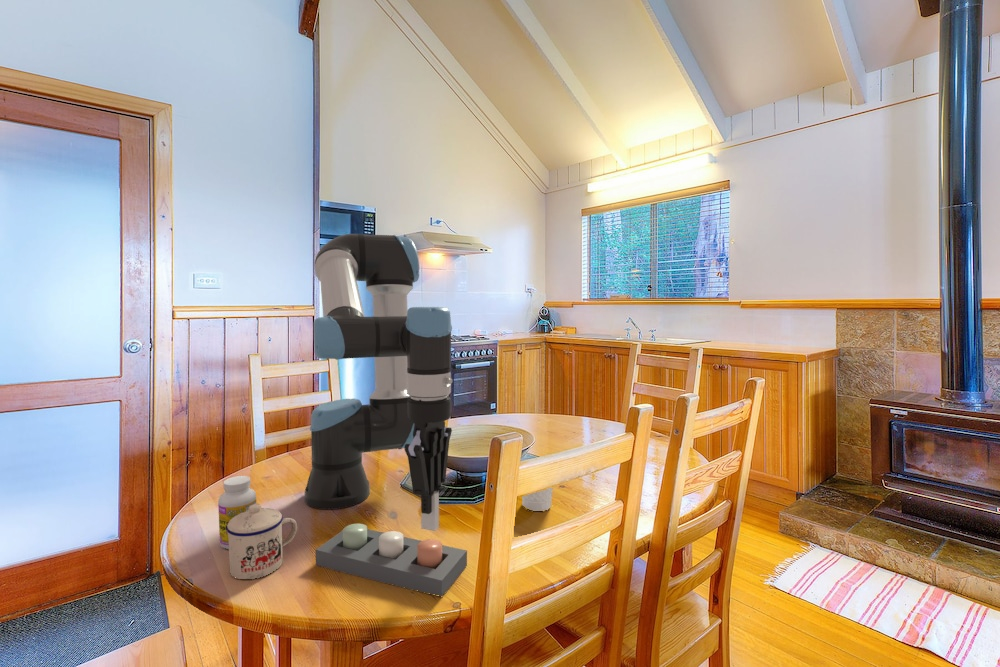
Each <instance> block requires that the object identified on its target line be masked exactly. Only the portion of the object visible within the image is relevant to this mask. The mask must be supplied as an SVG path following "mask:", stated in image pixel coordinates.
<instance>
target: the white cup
mask: <svg viewBox="0 0 1000 667" xmlns="http://www.w3.org/2000/svg"><path fill="white" fill-rule="evenodd" d="M553 489H554V487H553V488H548V489H546V490H543V491H540V492H536V493H532V494H529V495H525V496H521V497H522V498H521V499H522V507H523V506H524V507H526V508H528V509H530V510H533V511H543V510H547V511H548V509H549V508H550V507H551V508H552V497H553V492H554V491H553ZM524 507H523V508H524ZM551 508H550V509H551ZM550 509H549V510H550ZM533 511H532V512H533ZM543 512H544V511H543Z"/></svg>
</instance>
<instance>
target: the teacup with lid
mask: <svg viewBox="0 0 1000 667" xmlns="http://www.w3.org/2000/svg"><path fill="white" fill-rule="evenodd" d="M288 523H291V531H290V533H289V535H288V536H287V537H286V538H285V539H283V527H282V526H283V525H285V524H288ZM297 531H298V524H297V521H296V520H295V519H294V518H292V517H283V514H282V512H280V510H277V509H274V508H269V507H268V508H265V507H262V505H261V504H260V503H256V504H253V505H251V506H250V507H249V510H247V511H245V512H243V513H240V514H238V515H236V516H235V517H233V518H232V519H231V520H230V521H229V523H228V525H227V532H228V537H229V549H228V557H229V559H228V560H229V573H231V574H230V576H232V577H233V576H234V577H236V578H239V579H238V580H240V579H252V580H256V579H255V578H257V579H260V577H261V578H264V577H267V576H269V575H270V573H271V574H273V573H274V572H276V571H277V570H278V569H279V568H280V567H281V565H282V564H283V559H284V558H283V547H284V546H286V545H287V544H289V543H290V542H292V540H293V539H294V538H295V536H296V534H297ZM276 569H277V570H276ZM273 571H274V572H273ZM268 574H269V575H268ZM266 575H267V576H266ZM263 576H264V577H263ZM234 577H233V578H234ZM236 578H235V579H236Z"/></svg>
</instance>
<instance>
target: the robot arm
mask: <svg viewBox="0 0 1000 667" xmlns="http://www.w3.org/2000/svg"><path fill="white" fill-rule="evenodd" d="M314 274H315V275H316V278H317V279H318V281H319V282H320V293H321V304H322V316H321V317H318V318H315V319H314V321H313V347H314V348H313V349H314V350H313V352H314V356H315V357H316V358H318V359H321V360H322V359H323V360H329V359H330V360H336V361H338V360H345V359H346V360H348V359H361V358H374V382H375V387H374V388H375V389H374V391H373V392H372V393H371V394H370V395H369V403H368V404H363V403H362V402H361V400H360V399H358V398H341V399H336V400H332V401H328V402H325V403H322V404H320V405H318V406H316V408H314V409H313V410H312V412H311V415H310V426H309V430H310V433H311V434H310V436H311V437H310V439H311V446H310V448H311V470H310V473H309V476H308V480H307V483H306V486H305V489H304V503H305V504H306V505H307V506H309V507H311V508H314V509H319V510H337V509H343V508H349V507H353V506H355V505H357V504H360V503H362V502H363V501H365V500H366V499H367V498H368V497H369V495H370V494H371V493H370V491H371V489H370V486H371V485H370V482H369V480H368V477H367V475H366V471H365V468H364V465H363V455H362V454H363V453H373V452H379V451H388V450H402V449H404V452H405V454H406V457H407V460H408V467H409V473H410V474H409V475H410V479H411V481H410V482H411V487H412V492H413V495H418V496H420V508H421V509H420V517H421V519H420V526H421V529H423V530H425V531H427V530H428V531H432V532H436V531H437V530H438V529H439V527H440V500H439V499H440V494H439V493H440V492H439V491H441V492H444V490H445V488H446V486H445V485H442V484H445V483H446V476H447V466H448V456H449V448H450V438H451V436H452V432H453V430H452V427H448V426H447V427H446V422H445V421H448V420H450V419H451V417H452V398H451V397H450V394H451V393H452V383H453V378H452V373H451V372H452V332H453V331H452V330H453V325H452V320H451V319H452V318H451V311H450V310H449V308H447V307H444V306H412V307H409V308H408V294H409V293H410V292H411V291H412V290H413V288H414V283H417V282H418V281H419V278H420V260H419V256H418V249H417V247H416V245H415V243H414V241H413V240H412V239H411V238H410V237H407V236H400V235H395V234H393V235H389V234H366V233H365V234H362V233H347V234H346V233H345V234H342V235H338V236H336V237H334V238H333V239H331V240H329V241H328V242H327V243H325V244H324V245H323V246H322V247H321V248H320V249H319V251H318V252H317V254H316V256H315V260H314ZM358 282H365V285H366V286H365V288H366V290H367V291H368V292H369V294H371V295H372V308H373V309H372V312H373V313H372V314H373V316H365V312H364V308H363V304H362V299H361V295H360V292H359V291H360V290H359V287H358Z"/></svg>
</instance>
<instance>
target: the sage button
mask: <svg viewBox="0 0 1000 667" xmlns="http://www.w3.org/2000/svg"><path fill="white" fill-rule="evenodd" d="M367 529H368V526H367V525H366V524H363V523H352V524H348V525H346V526H345V527H344V528H343V529H342V531H343V548H347V549H352V550H356V551H358V550H360V549H361V548H362V547H364V546H365V545H366V544H367Z"/></svg>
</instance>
